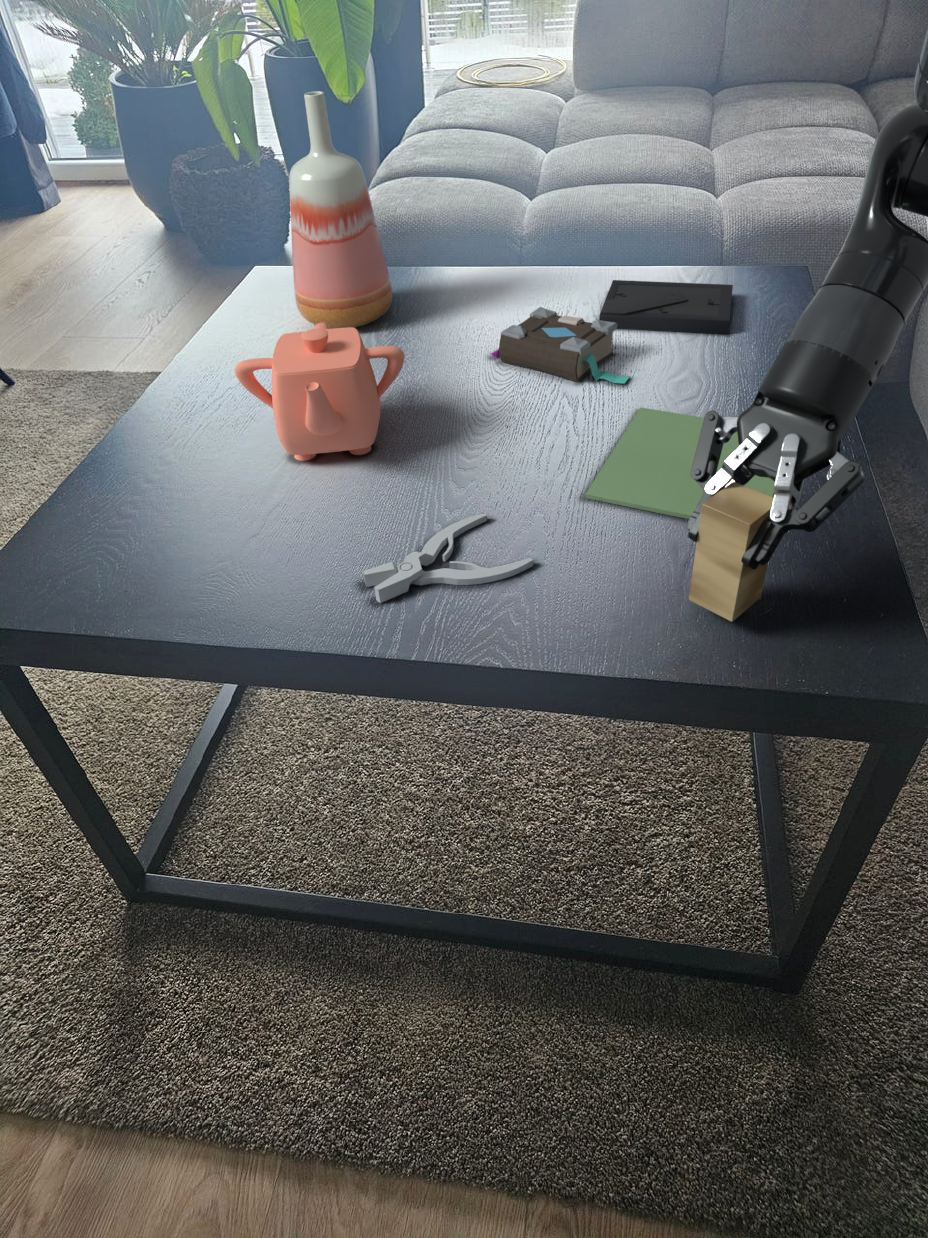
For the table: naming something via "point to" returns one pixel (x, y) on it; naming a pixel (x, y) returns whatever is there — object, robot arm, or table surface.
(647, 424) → the mat
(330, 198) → the vase
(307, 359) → the teapot
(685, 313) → the picture frame
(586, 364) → the book
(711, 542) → the block
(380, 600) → the pliers
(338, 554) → the table surface
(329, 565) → the table surface
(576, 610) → the table surface
